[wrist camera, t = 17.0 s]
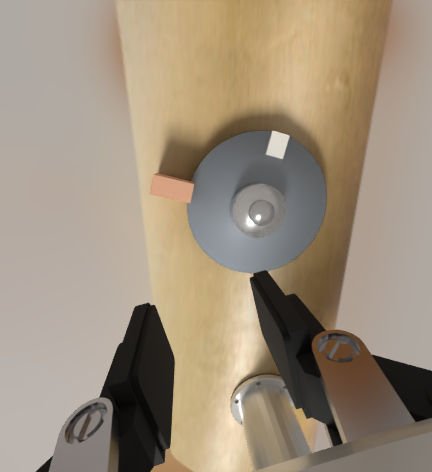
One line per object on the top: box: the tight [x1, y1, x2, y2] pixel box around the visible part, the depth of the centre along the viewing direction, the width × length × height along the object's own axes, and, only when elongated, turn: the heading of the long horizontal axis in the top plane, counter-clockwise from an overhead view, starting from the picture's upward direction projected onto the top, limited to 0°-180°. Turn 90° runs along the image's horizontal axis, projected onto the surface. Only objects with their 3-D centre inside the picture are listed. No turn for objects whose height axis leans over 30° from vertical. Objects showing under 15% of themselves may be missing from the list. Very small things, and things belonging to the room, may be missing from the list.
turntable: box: [150, 131, 327, 273], centre depth 35 cm, size 25×20×4 cm
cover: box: [230, 183, 287, 238], centre depth 33 cm, size 7×7×4 cm
